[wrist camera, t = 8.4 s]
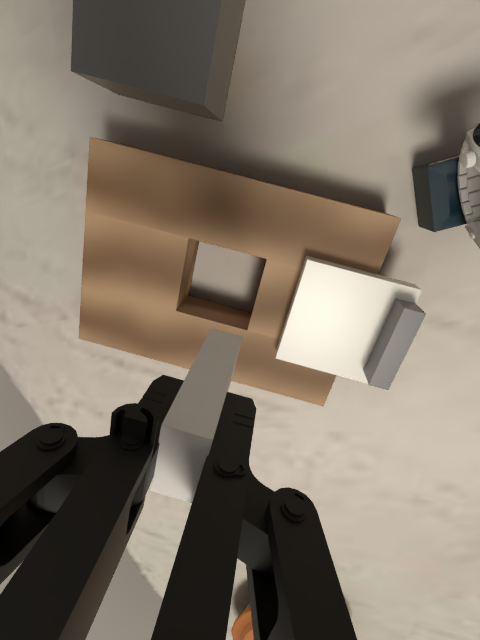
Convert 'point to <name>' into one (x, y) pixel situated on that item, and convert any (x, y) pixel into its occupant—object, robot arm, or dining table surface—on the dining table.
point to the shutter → (350, 322)
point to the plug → (159, 50)
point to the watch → (451, 190)
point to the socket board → (180, 254)
